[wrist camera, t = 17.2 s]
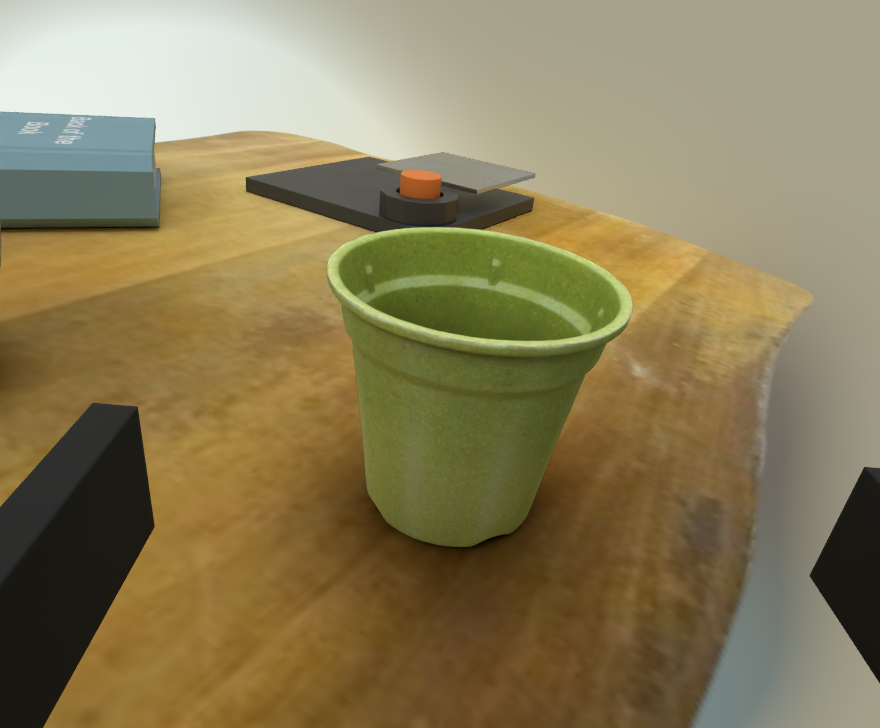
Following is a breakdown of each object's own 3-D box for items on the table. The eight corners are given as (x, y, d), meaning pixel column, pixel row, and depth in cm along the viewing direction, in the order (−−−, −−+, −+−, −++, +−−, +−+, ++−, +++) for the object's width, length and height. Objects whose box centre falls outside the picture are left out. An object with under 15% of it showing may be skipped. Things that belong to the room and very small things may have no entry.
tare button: (447, 198, 52) (449, 176, 51) (424, 204, 50) (426, 181, 49) (415, 189, 54) (416, 167, 53) (391, 195, 51) (392, 172, 50)
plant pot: (582, 449, 28) (630, 253, 24) (568, 624, 20) (638, 371, 15) (371, 404, 29) (382, 212, 25) (277, 549, 21) (270, 300, 17)
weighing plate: (535, 177, 61) (535, 173, 60) (477, 194, 53) (477, 189, 52) (442, 156, 65) (442, 151, 65) (376, 168, 57) (376, 164, 57)
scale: (532, 210, 62) (537, 178, 60) (429, 248, 49) (433, 208, 48) (368, 167, 71) (369, 139, 70) (246, 190, 58) (244, 156, 57)
